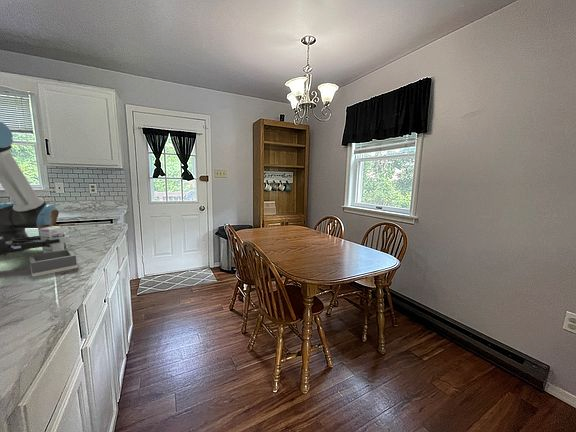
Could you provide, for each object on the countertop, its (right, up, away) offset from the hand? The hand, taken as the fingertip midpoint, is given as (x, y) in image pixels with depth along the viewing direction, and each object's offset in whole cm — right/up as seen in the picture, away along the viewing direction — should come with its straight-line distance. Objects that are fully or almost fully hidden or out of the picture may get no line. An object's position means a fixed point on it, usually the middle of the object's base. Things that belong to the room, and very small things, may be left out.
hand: (67, 237), depth 116 cm
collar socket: (+6, -11, -13) cm, 18 cm away
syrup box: (-3, -10, -2) cm, 10 cm away
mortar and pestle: (-15, -8, +10) cm, 20 cm away
